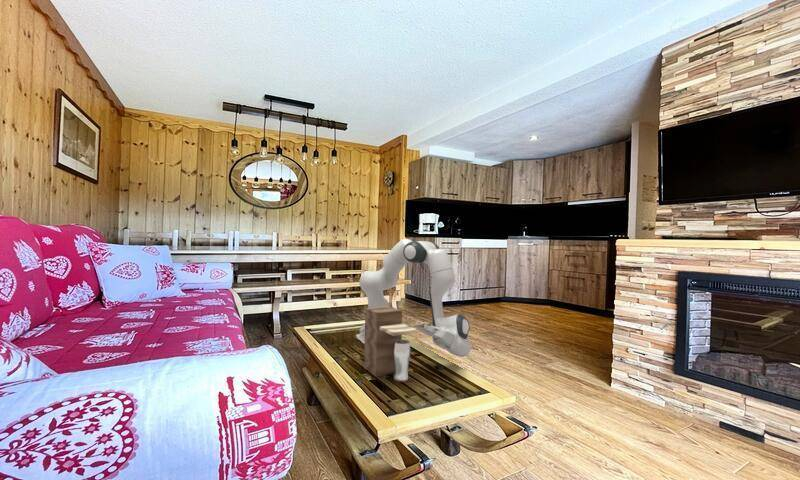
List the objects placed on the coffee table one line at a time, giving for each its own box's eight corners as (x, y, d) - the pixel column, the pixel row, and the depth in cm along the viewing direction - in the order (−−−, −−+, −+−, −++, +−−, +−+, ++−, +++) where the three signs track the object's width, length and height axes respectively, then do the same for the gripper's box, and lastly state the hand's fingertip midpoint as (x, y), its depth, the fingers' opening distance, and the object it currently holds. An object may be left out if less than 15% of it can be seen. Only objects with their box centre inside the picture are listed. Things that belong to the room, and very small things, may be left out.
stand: (363, 367, 149) (365, 308, 149) (387, 363, 155) (389, 306, 155) (375, 376, 139) (377, 313, 139) (400, 371, 146) (402, 310, 146)
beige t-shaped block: (379, 329, 139) (379, 325, 139) (421, 323, 150) (421, 320, 150) (393, 336, 130) (393, 331, 130) (436, 329, 141) (437, 325, 141)
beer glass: (409, 375, 141) (411, 339, 141) (408, 382, 134) (409, 344, 134) (393, 374, 142) (394, 338, 142) (391, 381, 135) (392, 343, 135)
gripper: (431, 325, 159) (410, 312, 153) (461, 335, 142) (439, 322, 136) (425, 337, 157) (404, 325, 151) (455, 350, 140) (432, 337, 134)
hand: (420, 324), depth 143 cm, fingers closed on beige t-shaped block, 3 cm apart
